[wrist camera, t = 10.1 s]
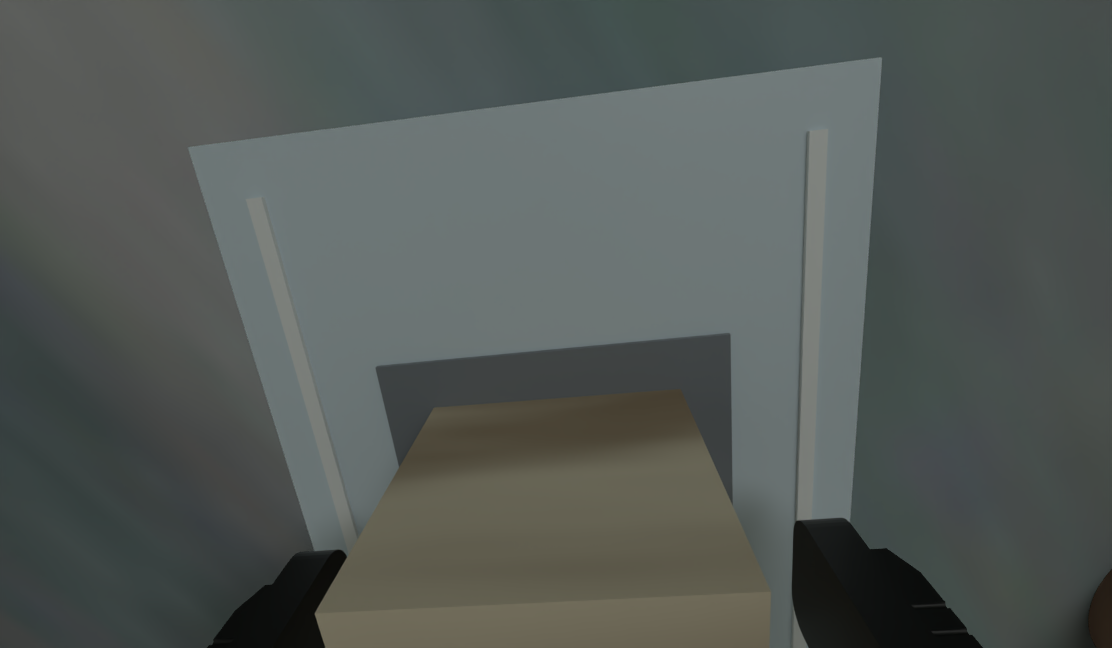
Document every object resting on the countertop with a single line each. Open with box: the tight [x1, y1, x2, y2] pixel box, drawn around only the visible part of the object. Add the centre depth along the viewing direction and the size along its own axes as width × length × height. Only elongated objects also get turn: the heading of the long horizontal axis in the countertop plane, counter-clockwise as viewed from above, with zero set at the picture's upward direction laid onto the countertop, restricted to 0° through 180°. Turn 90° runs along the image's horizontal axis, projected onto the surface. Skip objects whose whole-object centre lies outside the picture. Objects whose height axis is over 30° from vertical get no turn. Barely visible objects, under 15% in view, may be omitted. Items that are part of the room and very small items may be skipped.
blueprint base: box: [188, 57, 882, 648], centre depth 12 cm, size 16×12×1 cm
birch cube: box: [315, 389, 771, 648], centre depth 9 cm, size 5×5×5 cm
